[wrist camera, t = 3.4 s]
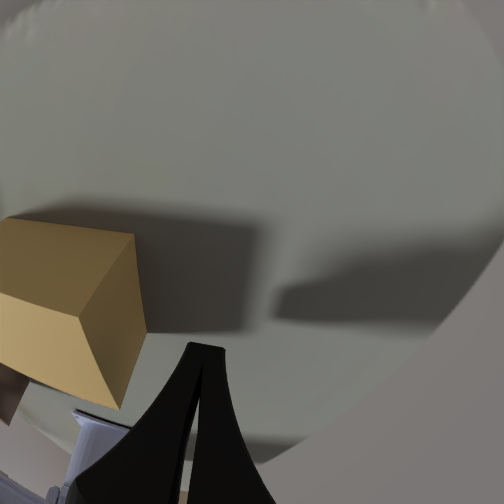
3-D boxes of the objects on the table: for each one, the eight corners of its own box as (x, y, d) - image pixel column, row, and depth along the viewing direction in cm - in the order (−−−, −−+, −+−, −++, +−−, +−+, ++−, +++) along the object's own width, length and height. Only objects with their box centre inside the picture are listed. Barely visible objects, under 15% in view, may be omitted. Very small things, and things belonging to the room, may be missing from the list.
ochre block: (147, 330, 15) (119, 410, 10) (35, 302, 14) (-4, 360, 10) (135, 232, 11) (78, 317, 7) (8, 216, 11) (-53, 270, 7)
